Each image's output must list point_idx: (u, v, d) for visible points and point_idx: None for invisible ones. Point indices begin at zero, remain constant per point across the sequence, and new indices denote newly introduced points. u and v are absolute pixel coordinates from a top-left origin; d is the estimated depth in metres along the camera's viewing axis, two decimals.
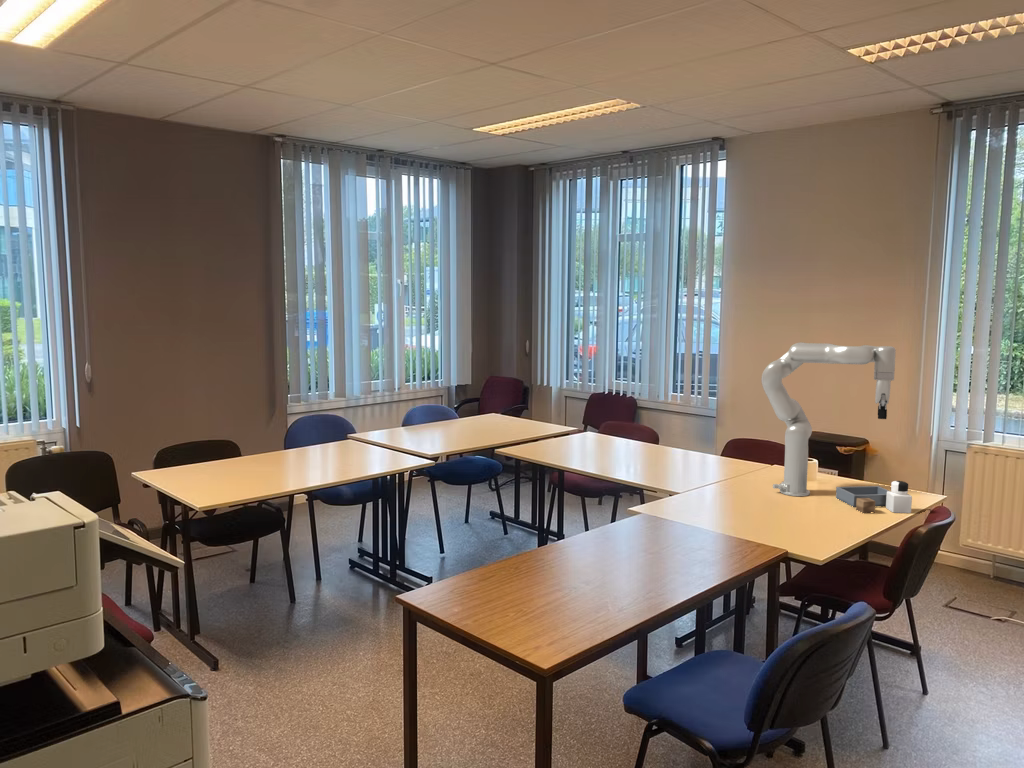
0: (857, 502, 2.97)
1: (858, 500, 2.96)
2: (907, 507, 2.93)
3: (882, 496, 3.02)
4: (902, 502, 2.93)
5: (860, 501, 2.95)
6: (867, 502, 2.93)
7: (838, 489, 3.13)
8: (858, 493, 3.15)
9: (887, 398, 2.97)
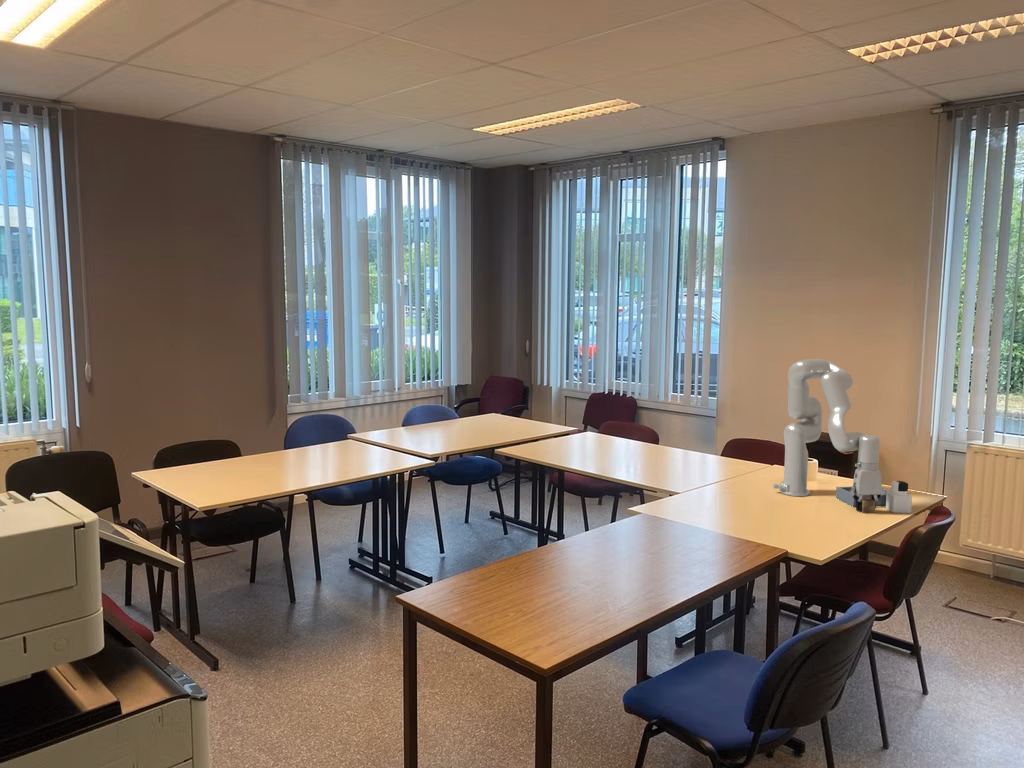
0: None
1: None
2: (907, 507, 2.93)
3: (882, 496, 3.02)
4: (902, 502, 2.93)
5: None
6: (867, 502, 2.92)
7: (838, 489, 3.13)
8: None
9: None
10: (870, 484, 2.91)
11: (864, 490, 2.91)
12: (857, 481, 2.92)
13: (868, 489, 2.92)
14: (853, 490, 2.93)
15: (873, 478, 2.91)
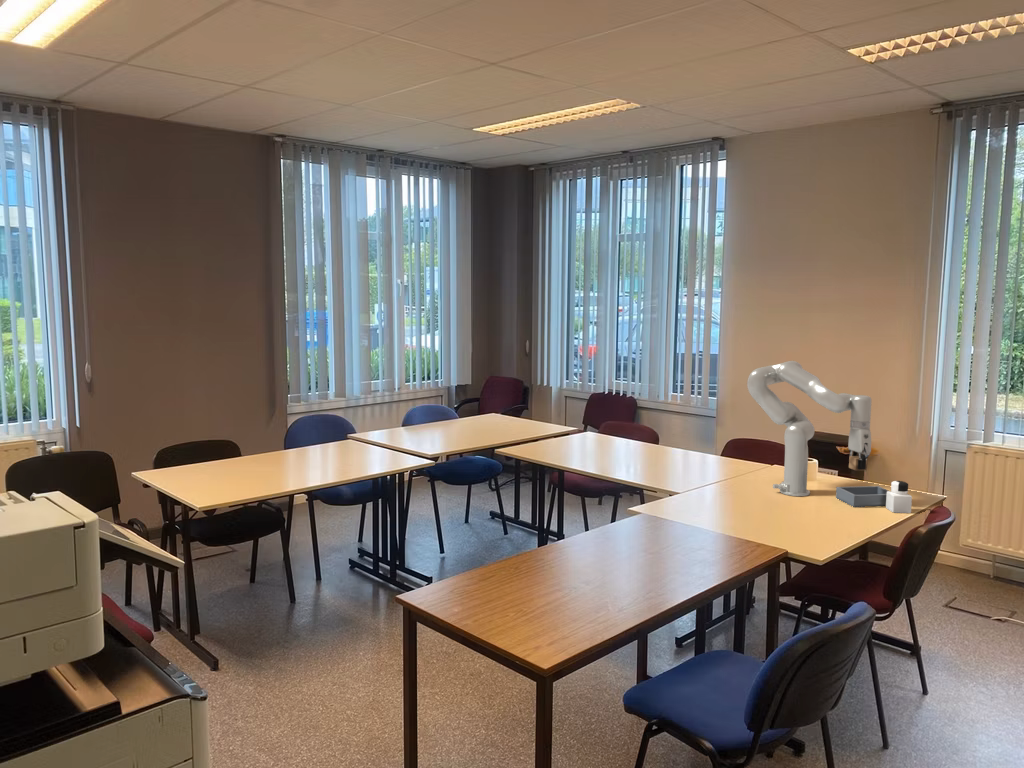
0: (857, 462, 3.04)
1: None
2: (907, 507, 2.93)
3: (882, 496, 3.02)
4: (902, 502, 2.93)
5: None
6: None
7: (838, 489, 3.13)
8: (858, 493, 3.15)
9: None
10: None
11: None
12: (869, 440, 3.01)
13: None
14: None
15: None
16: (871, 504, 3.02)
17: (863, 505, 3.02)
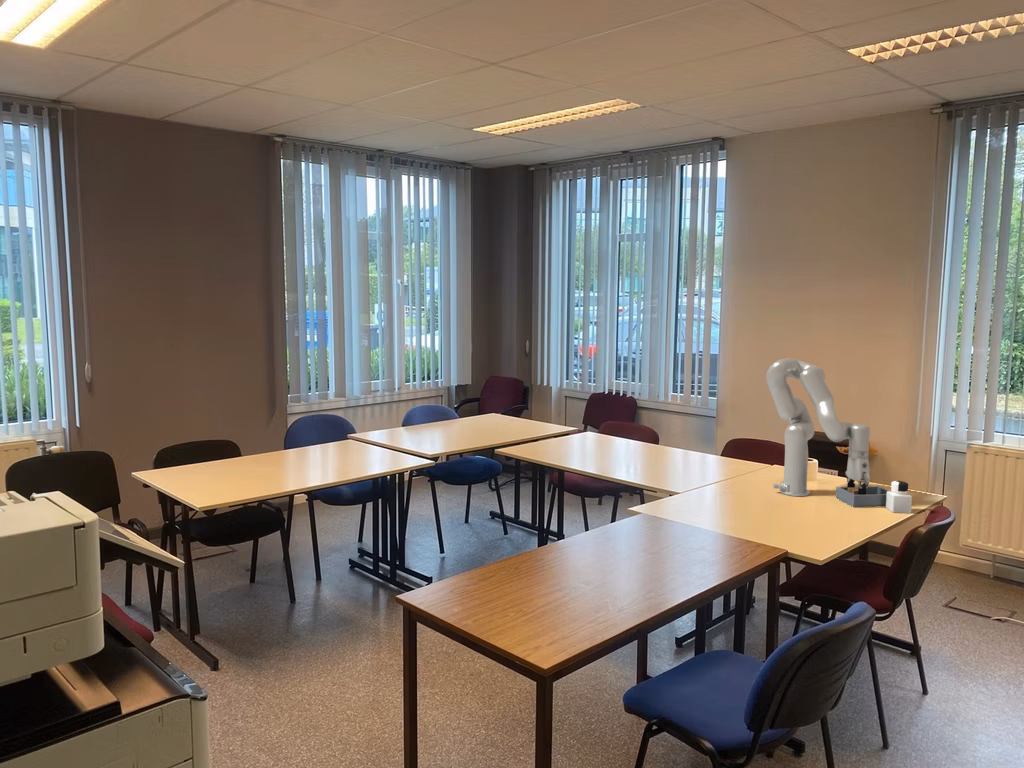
0: (855, 494, 3.06)
1: (856, 492, 3.06)
2: (907, 507, 2.93)
3: (882, 496, 3.02)
4: (902, 502, 2.93)
5: None
6: None
7: (838, 489, 3.13)
8: None
9: None
10: None
11: None
12: (867, 470, 3.02)
13: None
14: None
15: None
16: (871, 504, 3.02)
17: (863, 505, 3.02)
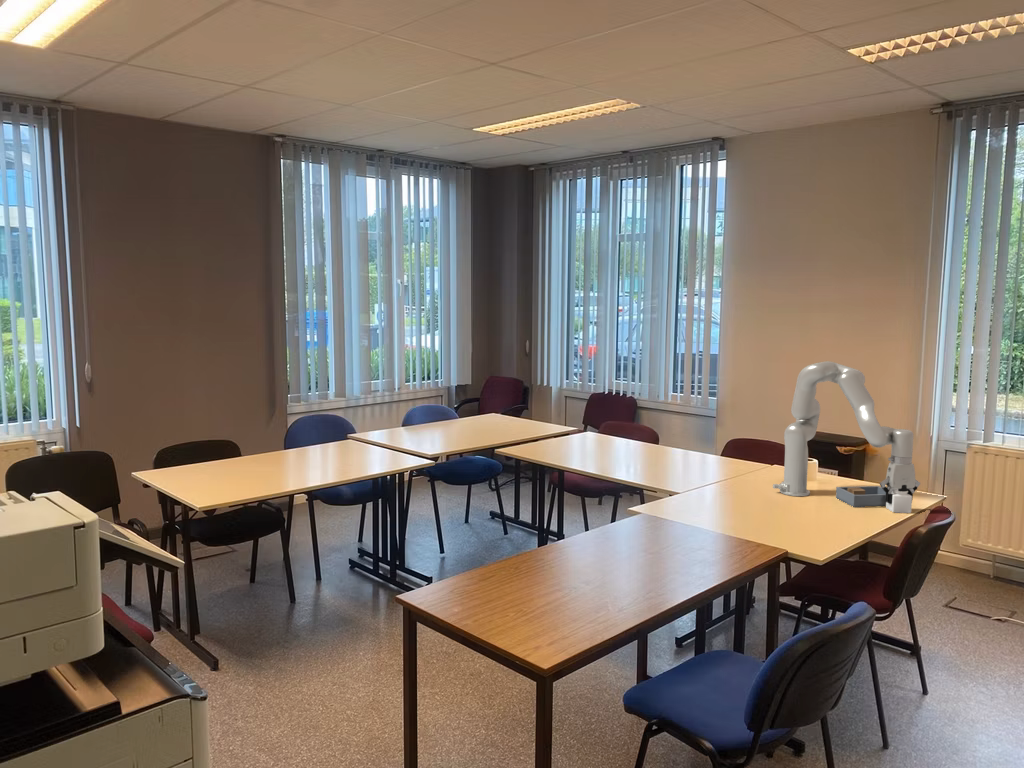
0: (855, 494, 3.06)
1: (856, 492, 3.06)
2: (907, 506, 2.93)
3: (882, 496, 3.02)
4: (902, 502, 2.93)
5: (860, 491, 3.06)
6: None
7: (838, 489, 3.13)
8: None
9: None
10: (904, 478, 2.92)
11: (898, 484, 2.93)
12: (891, 475, 2.93)
13: (902, 483, 2.93)
14: (886, 481, 2.94)
15: (907, 472, 2.92)
16: (871, 504, 3.02)
17: (863, 505, 3.02)
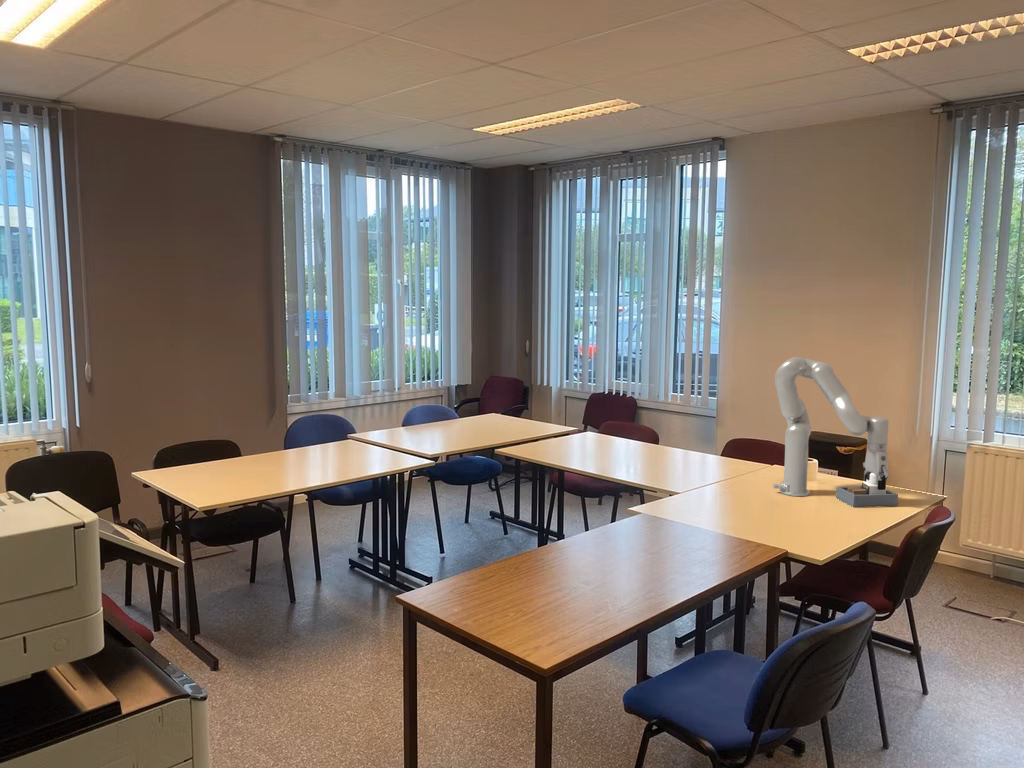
0: (855, 494, 3.06)
1: (856, 492, 3.06)
2: None
3: (882, 496, 3.02)
4: None
5: (860, 491, 3.06)
6: None
7: (838, 489, 3.13)
8: None
9: None
10: None
11: None
12: (886, 462, 3.03)
13: None
14: None
15: None
16: (871, 504, 3.02)
17: (863, 505, 3.02)
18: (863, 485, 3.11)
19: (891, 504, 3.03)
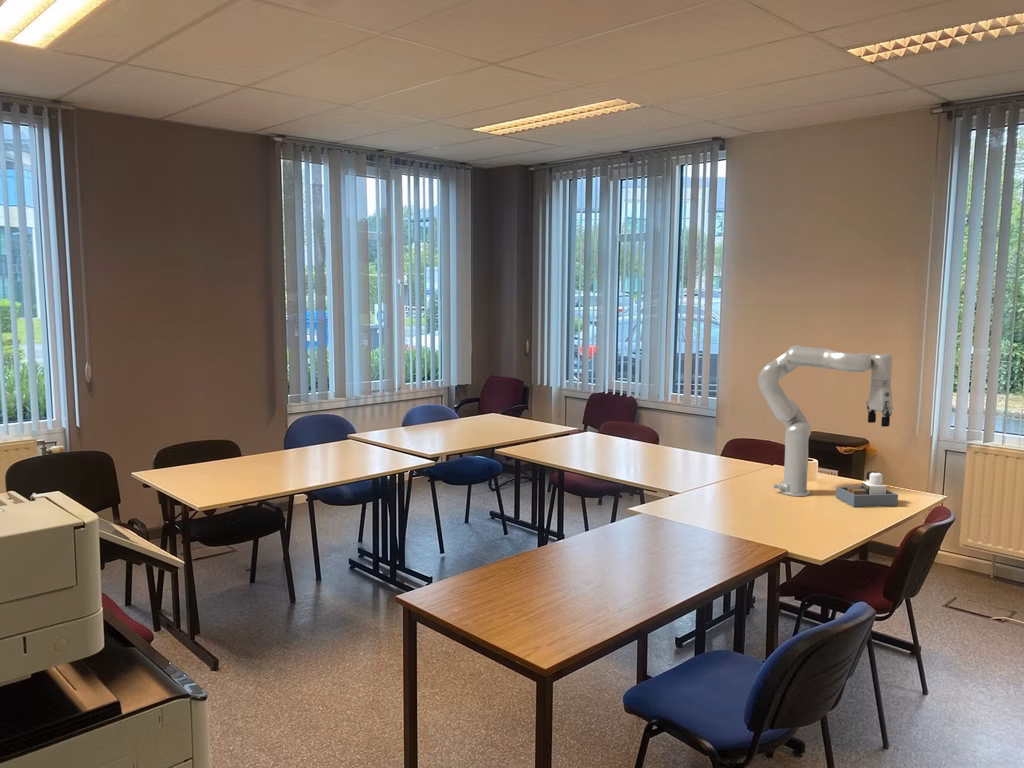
0: (855, 494, 3.06)
1: (856, 492, 3.06)
2: None
3: (882, 496, 3.02)
4: None
5: (860, 491, 3.06)
6: None
7: (838, 489, 3.13)
8: None
9: None
10: None
11: None
12: (890, 399, 3.00)
13: None
14: None
15: None
16: (871, 504, 3.02)
17: (863, 505, 3.02)
18: (863, 485, 3.11)
19: (891, 504, 3.03)
